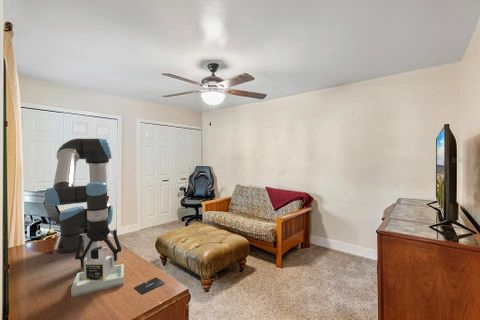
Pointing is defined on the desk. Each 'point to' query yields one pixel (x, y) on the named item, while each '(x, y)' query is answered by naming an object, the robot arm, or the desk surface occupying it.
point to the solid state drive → (149, 285)
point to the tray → (97, 282)
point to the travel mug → (94, 245)
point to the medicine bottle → (99, 264)
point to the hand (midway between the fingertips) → (99, 271)
